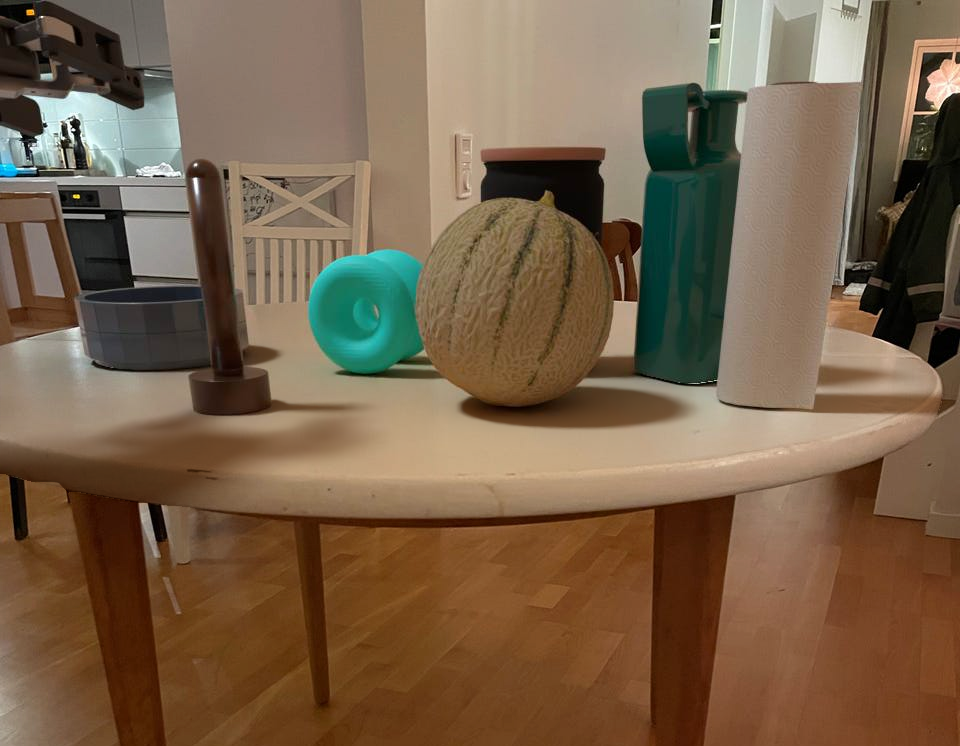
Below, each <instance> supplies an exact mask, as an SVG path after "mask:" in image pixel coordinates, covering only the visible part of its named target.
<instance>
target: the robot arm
mask: <svg viewBox="0 0 960 746" xmlns="http://www.w3.org/2000/svg"><path fill="white" fill-rule="evenodd" d="M32 7H33V11H34V17H35V20H32V21H30V22H27V23H21V22H19V21H16V20H15V19H12V18H7V17H5V16H2V15H0V127H3V128H6V129H9V130H11V131H14V132H17V133H21V134H24V135H27V136H29V137H37V136H42V135H44V132H45V129H44V124H43V122H44V121H43V118H42V117H43V116H42V112H41V111H42V110H41V108H40V105H39V103H38V102H37V101H36V99H34V98H31V97H37V98H38V97H41V98H49V99H60V100H64V99H67V98H68V97H69V94H70V92H75V93H85V94H93V95H94V94H95V95H97V96H99V97H101V98H104V99H106V100H108V101H111V102H113V103H115V104H118V105H120V106H122V107H123V108H127V109H129V110H130V111H131V110H132V111H136V110H139V109H143V108H144V107H145V99H146V97H145V91H144V86H143V79H142V74H141V73H140V72H139V71H138V70H135V69H134V68H132V67H129V66H127V65H125V60H124V54H123V47H122V43H121V36H120V34H118V33H116V32H115V31H112V30H111V29H108V28H107V27H105V26H102V25H100V24H98V23H96V22H94V21H91V20H90V19H87V18H86V17H83V16H82V15H79V14H77V13H75V12H73V11H71V10H69V9H67V8H65V7H64V6H63V7H62V6H61V5H59V4H56V3H54V2H52V1H48V0H37V1H35V2H34V3H33V4H32ZM36 51H41V55H42V56H43V57H45V58H47V59H49V64H50V70H51V71H50V72H51V75H52V76H51V77H52V80H44V79H42V75H41V68H40V63H39V57H38V54H37V52H36ZM69 68H72V69H74V70H76V71H79V72H80V73H83V74H86V76H83V75H82V76H80V75H74V74H72V73H71V72H70V69H69ZM29 96H31V97H29Z"/></svg>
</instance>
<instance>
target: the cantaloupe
mask: <svg viewBox="0 0 960 746" xmlns="http://www.w3.org/2000/svg"><path fill="white" fill-rule="evenodd" d="M422 264H423V267H422V269H421V271H420V275H419V279H418V283H417V290H416V304H415V314H416V318H417V324H418V327H419V334H420V336H421V339H422V342H423V345H424V348H425V349H424V351H425V353H426V355H427V357H428V359H429V361H430V363H431V364H432V366H433V368H435V370H436V371H437V372H438V374H440V376H441V377H443V378H444V379H445V380H447V381H448V382H449V383H450V384H452V385H453V386H455V387H457V388H459V389H460V390H462V391H464V392H465V393H467V394H468V395H470V396H472V397H474V398H476V399H478V400H479V401H481V402H483V403H485V404H486V405H490V406H496V407H515V408H518V407H520V408H521V407H527V406H535V405H539V404H544V403H545V402H549V401H552V400H554V399H557V398H558V397H561V396H563V395H564V394H566V393H568V392H569V391H570V390H572V389H574V388H576V387H577V386H578V385H579V384H581V382H582V381H583V380H584V379H585V378H586V376H588V374H589V373H590V372H591V370H592V369H593V368H594V366H595V365H596V363H597V362H598V360H599V358H600V356H601V355H602V354H603V352H604V350H605V347H606V345H607V343H608V340H609V337H610V333H611V330H612V324H613V319H614V318H613V317H614V306H615V305H614V304H615V291H614V280H613V274H612V271H611V268H610V265H609V262H608V259H607V257H606V254H605V253H604V250H603V248H602V246H601V247H600V245H599V243H598V242H597V240H596V239H595V238H594V237H593V235H592V234H591V233H590V232H589V231H588V229H587V228H586V227H584V226H583V225H582V224H581V223H580V222H579V221H577V220H576V219H574V218H572V217H570V216H569V215H567V214H565V213H563V212H561V211H559V210H557V209H556V208H555V206H554V196H553V194H552V192H550V191H545V195H544V196H543V197H542V198H541V199H540V201H536V202H534V201H529V200H525V199H518V198H498V199H492V200H488V201H484V202H482V203H481V202H479V203H476V204H474V205H472V206H471V207H469V208H468V209H466V210H465V211H463V212H461V213H460V214H458V216H456V218H454V220H452V221H451V222H450V223H448V224H447V226H446V227H445V228H443V230H442V231H441V232H440V234H439V235H438V236H437V238H436V239H435V241H434V242H433V244H432V246H431V247H430V248H429V250H428V251H427V253H426V255H425V259H424V261H423V263H422Z"/></svg>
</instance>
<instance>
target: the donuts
mask: <svg viewBox="0 0 960 746" xmlns="http://www.w3.org/2000/svg"><path fill="white" fill-rule="evenodd" d="M423 264H424V263H422V262H421V261H420V260H418V259H417V258H416V257H414V256H412V255H411V254H408V253H406V252H404V251H401V250H396V249H379V250H375V251H372V252H370V253H368V254H366V255H363V254H353V255H352V254H351V255H346V256H343V257H340V258H338V259H336V260H334V261H332V262H331V263H329V264H328V265H327V266H325V267H324V268H323V269H322V271H321V272H320V273H319V274H318V276H317V277H316V279H315V281H314V283H313V285H312V287H311V291H310V293H309V297H308V306H307V313H308V322H309V326H310V330H311V333H312V335H313V338H314V340H315V342H316V345H318V347H319V348H320V350H321V351H322V353H323V354H324V355H325V356H326V357H327V358H328V359H329V360H330V361H331V362H333V363H334V364H335V365H336V366H338V367H340V368H341V369H343V370H345V371H348V372H351V373H355V374H361V375H371V374H377V373H381V372H383V371H386V370H388V369H390V368H391V367H393V366H394V365H396V364H397V363H398V362H399V361H405V360H408V359H411V358H413V357H415V356H417V355H418V354H420V353H421V352H423V351H425V348H424V345H423V342H422V339H421V336H420V334H419V327H418V324H417V318H416V314H415V304H416V290H417V283H418V279H419V275H420V271H421V269H422V267H423Z"/></svg>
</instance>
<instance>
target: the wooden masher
mask: <svg viewBox="0 0 960 746" xmlns="http://www.w3.org/2000/svg"><path fill="white" fill-rule="evenodd" d="M185 184H186V189H187V196H188V202H189V203H188V205H189V212H190V219H191V226H192V234H193V241H194V249H195V255H196V264H197V269H198V278H199V286H201V293H202V300H203V308H204V315H205V322H206V330H207V337H208V344H209V352H210V359H211V365H210V366H211V368H206V369H201V370H196V371H194V372H191V373H190V374H189V375H188V385H189V390H190V397H191V404H192V409H193V411H194V412H197V413H199V414H203V415H204V414H205V415H213V416H215V415H216V416H232V415H243V414H250V413H255V412H259V411H263V410H265V409H268V408H270V407H271V406H272V394H271V384H270V374H269V371H268V370H267V369H265V368H261V367H256V366H255V367H254V366H244V358H243V354H242V353H243V351H242V348H241V340H240V331H239V323H238V315H237V306H236V298H235V290H234V288H235V282H234V274H233V266H232V258H231V250H230V242H229V233H228V224H227V215H226V208H225V200H224V199H225V198H224V191H223V183H222V177H221V173H220V170H219V168H218V167H217V165H216V164H214V163H213V162H212V161H211V160H209V159H205V158H196V159H194V160H192V161H191V162H190V163H189V164H188V165H187V168H186V169H185Z"/></svg>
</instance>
